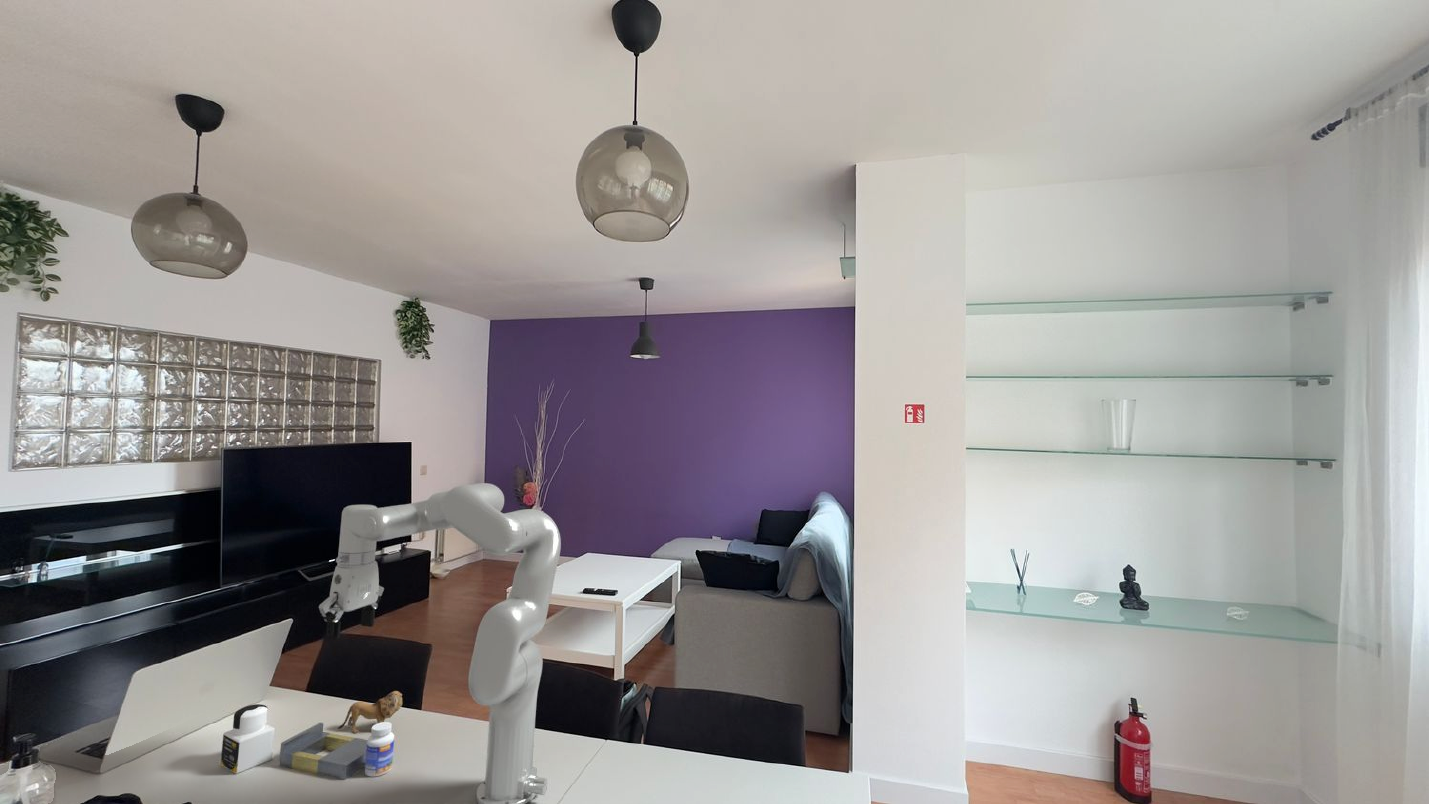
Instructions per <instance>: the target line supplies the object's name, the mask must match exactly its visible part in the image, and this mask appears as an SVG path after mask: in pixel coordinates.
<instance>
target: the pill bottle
mask: <svg viewBox="0 0 1429 804" xmlns="http://www.w3.org/2000/svg"><path fill="white" fill-rule="evenodd" d="M392 729H393V727H392V723H391V722H388V721H384V722H381V723H375V724H373V725H372V727H371V730H370V733H371V735H370V736H369V737H368V738H367V739H366V740H367V748H366V762H365V767H364V774H365V775H366V776H367V777H380V776H384V775H386V774H387V773H389V772H390V771H391V769H392V768H393V763H394V762H393V759H394V746H395V745H394V744H395V734H394V733H393V732H392Z"/></svg>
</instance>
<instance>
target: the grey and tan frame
mask: <svg viewBox="0 0 1429 804" xmlns="http://www.w3.org/2000/svg"><path fill="white" fill-rule="evenodd" d="M367 740H368V739H365V738H358V737H352V736H348V735H343V734H338V733H332V732H331V733H330V732H325V731H324V722H319V723H317V724H315V725H312V726H311V727H309V728H307V729H305V730H303V731H301V732H299V733H297V734H295V735H294V736H292V737H290V738H288V739H286V740H284V741H282V742H280V750H279V762H278V766H279V767H281V768H282V767H283V768H288V769H292V770H297V771H301V772H307V773H310V774H317V775H320V776H321V775H322V776H326V777H331V778H334V779H335V778H336V779H340V780H345V781H346V780H347V779H348V778H350V777H351V776H354V775H355V774H356V773H357V772H359V771H361V770H362V769H365V762H366V748H367ZM322 751H330V752H329V753H327V754H325V755H320V754H319V753H321V752H322Z"/></svg>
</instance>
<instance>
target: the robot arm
mask: <svg viewBox="0 0 1429 804" xmlns="http://www.w3.org/2000/svg"><path fill="white" fill-rule="evenodd" d="M504 505H505V495H504V493H503V491H502V490H501V488H499V486H497V485H495V484H493V483H488V482H487V483H486V482H481V483H472V484H470V483H469V484H462V485H458V486H457V485H456V486H454V487H453V488H451V489H450V490H446V491H441V492H436V493H433V494H432V495H431V496H430V497H428V499H426V500H421V501H418V502H411V503H406V504H398V505H390V506H384V507H377V506H376V505H373V504H351V505H347V506H346V507H343V510H342V511H341V519H340V520H341V522H340V531H339V533H340V534H339V545H338V556H337V557H336V558H335V563H337V564H336V566H335V568H334V572H333V575H332V581H331V584H330V591H329V596H328V597H327V598H326V599H325V600H323V602H322V603H320V604H319V606H318V609H319V612H320V614H321V617H322V619H324V621H325V622H326V628H325V629H326V632H325V638H326V640H333V641H337V640H339V639H340V637H341V627H342V626H341V624H342V622H341V621H340V619H341V618H342V615H344V613H345V612H346V613H348V612H353V611H356V610H358V609H361V608H362V609H361V617H360V626H362V627H368V628H369V627H370V628H372V627H374V625H375V614H376V609H377V608H378V605H379V602H380V601H381V600H382V595H383V592H384V590H385V588H384V587H383V586H381V585H380V584H379V582H380V579H379V578H380V577H379V574H380V573H379V566H378V562H377V561H376V551H377V542H381V541H388V540H392V539H395V538H396V539H397V538H400V537H401V538H402V537H407V536H411V535H416V534H420V533H425V532H430V531H434V530H437V531H445V530H448V529H455V530H457V531H458V532H459V533H460V534H462V535H463V536H465V537H466V538H467V539H469V540H471V541H472V542H473V543H474V544H475V545H477V546H478V547H480V548H481V549H483V550H484V551H486V552H487V553H489V554H492V555H494V556H507V555H508V556H509V555H511V554H514V553H517V552H520V551H523V553H522V556H521V558H520V560H519V562H518V564H517V567H516V569H515V572H514V575H513V581H512V585H511V589H510V592H509V595H508V596H507V598H506V599H504V600H503V601H501V602H499V603H496V604H495V605H493V606H492V607H491V608H490V609H488V611H486V613H485V614H484V615H483V617H482V619H481V621H480V623H479V626H478V630H477V633H476V638H475V642H474V643H475V644H474V647H473V652H472V656H471V661H470V666H469V671H468V681H467V683H468V689H469V693H470V695H471V697H472V699H473V700H474V701H475V702H476V703H477V704H478V705H481V706H484V707H489V717H488V718H489V719H488V730H487V731H488V732H487V747H486V748H487V749H486V763H485V764H486V765H485V779H484V781H483V782H481V783H480V784H479V786H477V787H478V788H477V789H476V794H475V795H476V797H475V799H476V802H477V804H528V803H529V802H530V801H532V800H533V799H534V798H535V797H536V796H537V795H539V796H545V795H546V793H547V790H548V785H547V783H548V778H545V777H539V776H538V775H537V773H538V772H537V771H538V768H537V767H534V766H533V763H534V762H533V760H534V749H535V748H534V747H535V746H534V745H535V731H536V730H535V729H536V715H537V714H536V713H537V712H536V711H537V701H538V700H537V699H538V691H539V686H540V682H541V677H542V673H543V664H544V663H543V655H542V651H541V649H540V647H539V645H538V644H537V643H536V642H534V641H533V640H531V639H532V638H533V637H535V636H536V635H538V634H539V633H540V632H541V631H542V630H543V628H544V626H545V624H546V621H547V616H548V612H549V606H550V602H551V597H552V592H553V587H554V582H555V576H556V572H557V568H558V564H559V560H560V555H561V549H562V547H561V546H562V543H561V541H562V539H561V533H560V531H559V528H558V526H557V524H556V523H555V521H554V520H553V518H552V517H551V516H550V515H548V514H547V513H545V512H544V511H541V510H539V509H533V508H528V509H527V508H526V509H520V510H519V509H518V510H515V511H511V512H506V513H503V512H501V511H502V510H503V508H504Z"/></svg>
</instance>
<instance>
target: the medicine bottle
mask: <svg viewBox="0 0 1429 804" xmlns="http://www.w3.org/2000/svg"><path fill="white" fill-rule="evenodd" d="M268 709H269V708H268V706H267V705H265V704H257V703H256V704H250V705H247V706H244V707H241V708H239V709H238V710H237V711H235V712H234V714H233V724H232V729H231V730H228V731H225V732H224V733H223V736H222V743H221V744H222V745H221V753H220V754H221V757H220V766H223V767H224V768H225V769H227V770H229V771H231V772H232V773H234V774H236V775H237V774H240V773H243V772H245V771H247V770H250V769H252V768H255V767H257V766H260V765H262V764H264V763H267V762H269V761H271V760H272V759H273V754H274V751H273V750H274V741H275V730H276V729H275V727H273V726H271V725H269V724H267V723H268V722H267V720H268V719H267V718H268V711H269V710H268Z"/></svg>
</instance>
